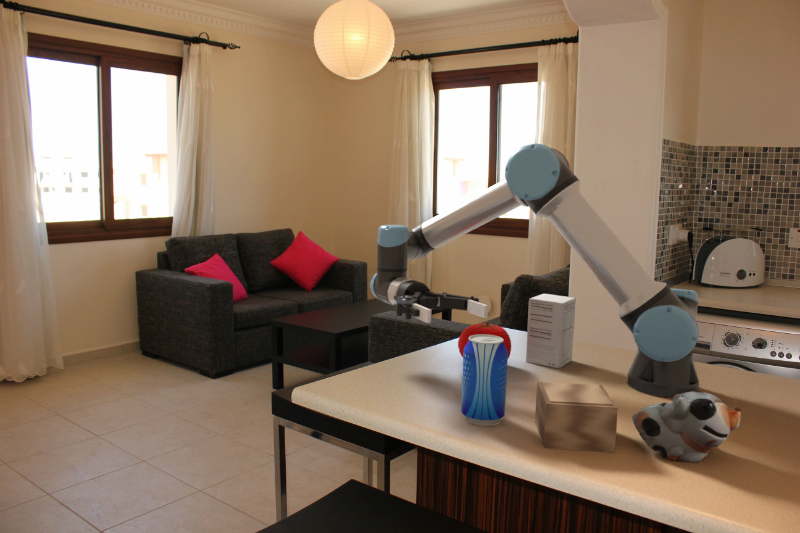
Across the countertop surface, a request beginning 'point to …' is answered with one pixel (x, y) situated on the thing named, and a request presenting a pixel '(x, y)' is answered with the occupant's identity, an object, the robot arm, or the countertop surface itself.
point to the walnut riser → (575, 417)
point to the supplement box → (550, 330)
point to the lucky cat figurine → (687, 425)
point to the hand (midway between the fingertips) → (458, 314)
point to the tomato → (487, 330)
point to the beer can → (484, 380)
